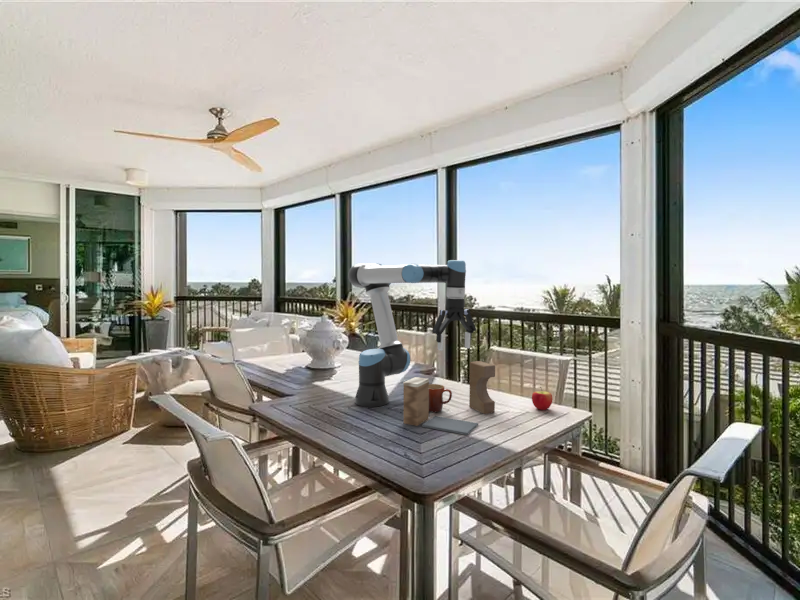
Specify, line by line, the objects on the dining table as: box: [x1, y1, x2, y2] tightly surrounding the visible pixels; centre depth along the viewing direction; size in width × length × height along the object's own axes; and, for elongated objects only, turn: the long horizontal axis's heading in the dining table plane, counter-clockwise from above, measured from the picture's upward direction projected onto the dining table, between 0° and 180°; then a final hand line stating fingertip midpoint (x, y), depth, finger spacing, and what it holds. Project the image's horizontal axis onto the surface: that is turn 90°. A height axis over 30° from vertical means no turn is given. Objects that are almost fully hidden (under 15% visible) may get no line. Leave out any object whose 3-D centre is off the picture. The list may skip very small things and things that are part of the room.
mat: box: [421, 415, 479, 436], centre depth 169 cm, size 18×12×1 cm, turn 61°
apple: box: [531, 386, 553, 411], centre depth 190 cm, size 8×8×10 cm
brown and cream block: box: [402, 376, 430, 427], centre depth 174 cm, size 6×10×16 cm, turn 151°
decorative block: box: [468, 360, 496, 415], centre depth 188 cm, size 11×6×20 cm, turn 25°
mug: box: [429, 383, 453, 413], centre depth 187 cm, size 12×9×10 cm
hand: (454, 349), depth 184 cm, fingers open, 13 cm apart
